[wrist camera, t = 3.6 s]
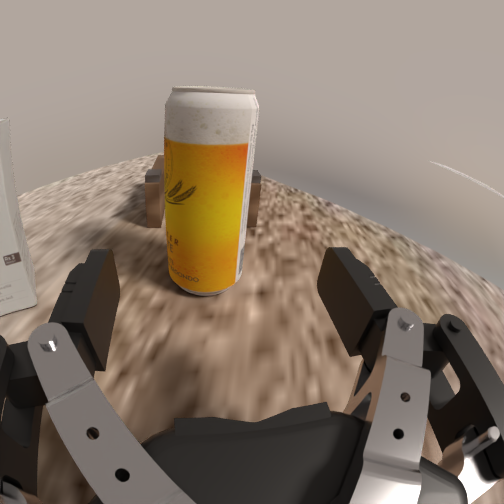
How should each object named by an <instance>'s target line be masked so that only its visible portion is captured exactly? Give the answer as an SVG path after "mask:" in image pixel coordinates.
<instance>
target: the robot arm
mask: <svg viewBox="0 0 504 504" xmlns="http://www.w3.org/2000/svg"><path fill="white" fill-rule="evenodd" d="M317 289H318V293H319V296H320V297H321V299H322V301H323V303H324V305H325V307H326V309H327V311H328V313H329V315H330V317H331V319H332V321H333V323H334V325H335V328H336V330H337V332H338V334H339V336H340V338H341V340H342V342H343V344H344V346H345V348H346V350H347V352H348V354H349V356H350V357H352V356H357V355H362V357H363V360H362V361H361V363H360V366H359V369H358V373H357V376H356V380H355V383H354V386H353V389H352V392H351V395H350V399H349V401H348V404H347V406H346V408H345V409H344V411H343V413H342V412H335V411H330V410H329V407H328V404H327V402H323V403H318V404H313V405H308V406H303V407H297V408H292V409H290V410H287V411H285V412H282V413H280V414H277V415H275V416H272V417H270V418H267V419H265V420H262V421H259V422H245V421H237V420H229V419H223V418H216V417H205V418H174V422H175V428H171V429H168V430H165V431H162V432H159V433H157V434H155V435H153V436H152V437H150V438H149V439H147V440H146V441H144V442H143V443H142V444H141V445H140V444H139V442H138V441H137V440H136V439H135V437H134V436H133V435H132V433H131V432H130V431H129V430H128V428H127V427H126V426H125V424H124V423H123V421H122V420H121V419H120V417H119V416H118V415H117V413H116V412H115V410H114V409H113V407H112V406H111V405H110V403H109V402H108V400H107V399H106V397H105V396H104V394H103V393H102V391H101V389H100V388H99V386H98V385H97V383H96V382H95V380H94V373H95V371H105V370H106V363H107V358H108V352H109V346H110V341H111V336H112V331H113V326H114V321H115V316H116V312H117V307H118V303H119V298H120V285H119V280H118V275H117V270H116V266H115V260H114V255H113V252H112V250H111V249H92V250H91V251H90V253H89V255H88V257H87V260H86V262H85V263H79V264H78V265H77V266H76V267H75V268H74V269H73V270H72V271H71V272H70V273H69V275H68V277H67V280H66V282H65V284H64V286H63V288H62V293H60V295H59V297H58V300H57V302H56V304H55V307H54V309H53V312H52V314H51V317H50V319H49V322H48V323H45V324H43V325H41V326H39V327H37V328H36V329H35V330H34V331H33V332H32V333H31V335H30V337H29V340H28V341H26V342H21V343H16V344H11V345H8V344H7V342H6V341H5V339H4V338H3V337H2V336H1V335H0V504H43V503H42V501H41V500H40V499H39V498H38V497H37V460H38V444H39V433H40V423H41V415H42V408H43V405H46V407H47V410H48V412H49V415H50V417H51V419H52V421H53V423H54V425H55V427H56V429H57V431H58V433H59V435H60V437H61V438H62V440H63V442H64V444H65V446H66V447H67V449H68V451H69V453H70V454H71V456H72V458H73V459H74V461H75V463H76V464H77V466H78V467H79V469H80V471H81V472H82V474H83V475H84V477H85V478H86V480H87V481H88V483H89V484H90V486H91V487H92V488H93V490H94V491H95V493H96V495H95V497H94V498H93V499H92V500H91V501H90V502H89V503H88V504H469V503H470V502H472V501H473V500H474V499H476V498H477V497H478V496H480V495H481V494H482V493H483V492H485V491H486V490H487V489H488V488H490V487H491V486H492V485H494V484H496V483H498V482H499V481H501V480H503V479H504V385H503V383H502V381H501V379H500V378H499V376H498V374H497V373H496V371H495V369H494V368H493V366H492V364H491V363H490V361H489V359H488V358H487V356H486V355H485V353H484V352H483V350H482V348H481V347H480V345H479V344H478V342H477V341H476V339H475V338H474V336H473V335H472V333H471V332H470V331H469V329H468V328H467V326H466V325H465V323H464V322H463V321H462V320H461V319H459V318H458V317H456V316H454V315H451V314H445V315H443V316H442V317H441V318H440V320H439V321H438V323H437V324H428V323H423V322H422V320H421V319H420V318H419V316H418V315H416V314H415V313H414V312H412V311H411V310H408V309H405V308H398V307H397V306H396V304H395V303H394V301H393V300H392V299H391V297H390V296H389V294H388V293H387V292H386V290H385V289H384V288H383V286H382V285H381V284H380V282H379V281H378V279H377V278H376V277H375V275H374V274H373V273H372V271H371V270H370V269H369V267H368V266H366V265H365V264H364V263H362V262H361V261H359V260H358V259H356V258H355V257H354V255H353V254H352V253H351V251H350V250H349V249H348V248H346V247H329V248H328V249H327V250H326V252H325V255H324V259H323V262H322V266H321V269H320V273H319V276H318V280H317ZM449 362H450V364H451V366H452V368H453V369H454V371H455V373H456V375H457V377H458V378H459V380H460V390H459V392H458V393H457V394H456V395H455V394H454V392H453V390H452V388H451V386H450V384H449V382H448V380H447V379H446V377H445V375H444V373H443V371H442V370H443V369H444V368H445V366H446V365H447V364H448V363H449ZM5 398H6V400H5V405H4V410H3V416H2V422H1V414H2V409H3V404H4V399H5ZM427 417H428V420H429V422H430V424H431V426H432V429H433V431H434V434H435V436H436V438H437V441H438V443H439V446H440V448H441V451H442V453H443V456H442V460H441V461H440V462H439V463H438V465H436V464H434V463H432V462H431V461H429V460H427V459H425V458H424V457H422V456H421V452H422V447H423V441H424V435H425V429H426V422H427Z"/></svg>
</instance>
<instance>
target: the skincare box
mask: <svg viewBox="0 0 504 504" xmlns="http://www.w3.org/2000/svg"><path fill="white" fill-rule="evenodd" d="M10 143H11V142H10V120H9V118H4V119H0V316H2V315H5V314H8V313H11V312H14V311H18V310H22V309H25V308H29V307H33V306H35V305H36V304H37V297H36V284H35V269H34V265H33V262H32V259H31V255H30V252H29V248H28V244H27V240H26V236H25V232H24V228H23V224H22V219H21V215H20V210H19V204H18V199H17V193H16V187H15V180H14V173H13V164H12V155H11V144H10Z"/></svg>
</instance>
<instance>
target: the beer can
mask: <svg viewBox="0 0 504 504" xmlns="http://www.w3.org/2000/svg"><path fill="white" fill-rule="evenodd" d="M258 117H259V105H258V102H257V99H256V97H255V90H249V89H241V88H229V87H228V88H227V87H207V86H181V87H180V86H179V87H173V88H172V93H171V94H170V97H169V98H168V100H167V102H166V105H165V132H164V134H165V135H164V188H165V218H166V238H167V253H168V267H169V274H170V276H171V278H172V280H173V281H174V282H175V283H177V284H178V285H179V286H180V287H181V288H182V289H183V290H185V291H187V292H189V293H192V294H195V295H201V296H210V295H216V294H220V293H222V292H224V291H226V290H228V289H229V288H230V287H231V286H232V285H234V284H235V283H236V282H237V281H238V280H239V278H240V277H241V274H242V265H243V255H244V246H245V236H246V227H247V217H248V208H249V198H250V189H251V180H252V171H253V162H254V153H255V143H256V135H257V126H258Z"/></svg>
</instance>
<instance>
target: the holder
mask: <svg viewBox="0 0 504 504" xmlns="http://www.w3.org/2000/svg"><path fill="white" fill-rule="evenodd" d="M260 182H261V175H260V174H259V172H258V170H253V171H252V180H251V189H250V198H249V208H248V217H247V227H256V224H257V216H258V207H259V199H260V191H261V184H260ZM145 199H146V214H147V227H148V228H156V227H161V225H162V219H163V214H164V210H165V188H164V155H158V157H157V159H156V161H155V163H154V165H153V167H152V169H149V170H148V171H147V173H146V175H145Z"/></svg>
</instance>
